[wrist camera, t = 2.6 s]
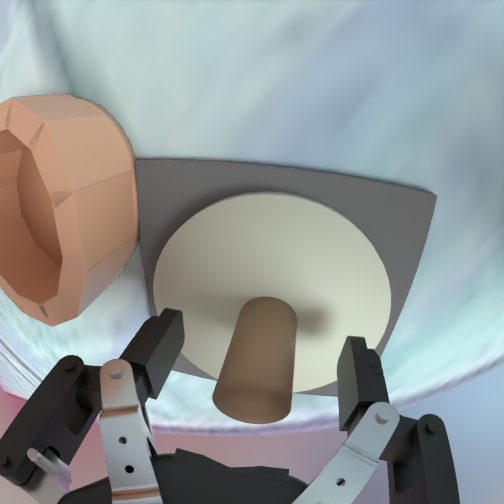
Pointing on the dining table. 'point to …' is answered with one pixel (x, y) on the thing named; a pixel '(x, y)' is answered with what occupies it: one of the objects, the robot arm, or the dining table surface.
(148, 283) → the mat
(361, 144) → the dining table surface
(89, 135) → the bowl
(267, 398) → the lid
